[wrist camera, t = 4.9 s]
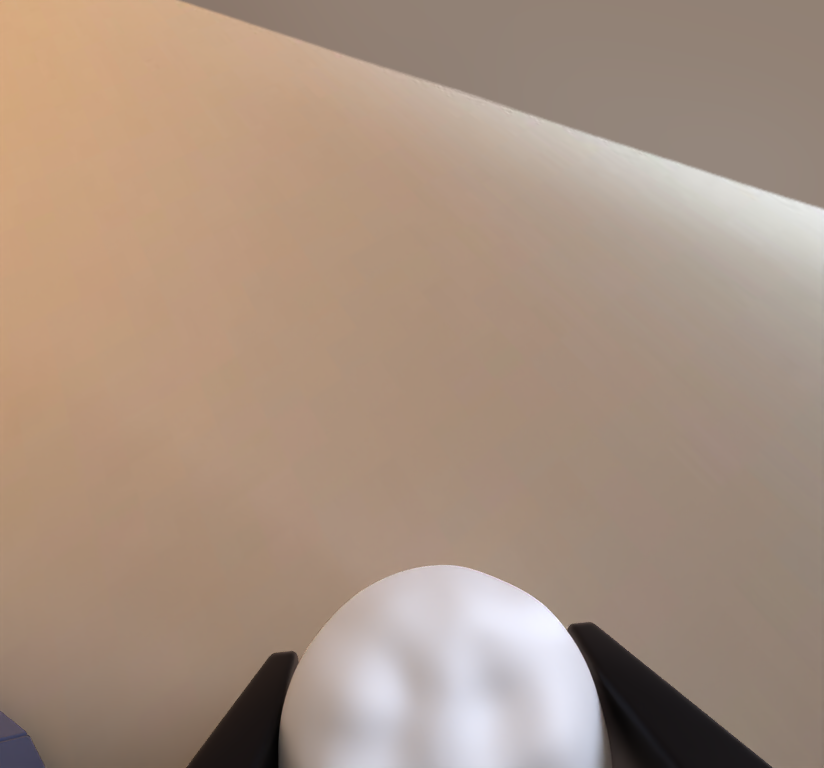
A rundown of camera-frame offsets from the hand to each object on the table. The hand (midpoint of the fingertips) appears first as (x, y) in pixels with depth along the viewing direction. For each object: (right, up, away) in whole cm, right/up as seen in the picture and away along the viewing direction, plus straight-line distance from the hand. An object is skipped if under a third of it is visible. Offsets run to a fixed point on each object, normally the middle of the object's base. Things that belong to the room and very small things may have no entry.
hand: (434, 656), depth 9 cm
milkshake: (0, -4, +5) cm, 7 cm away
